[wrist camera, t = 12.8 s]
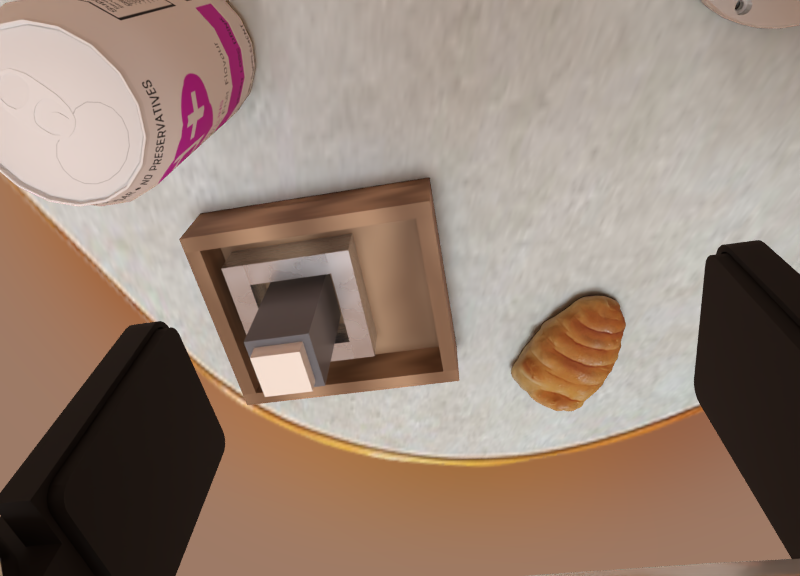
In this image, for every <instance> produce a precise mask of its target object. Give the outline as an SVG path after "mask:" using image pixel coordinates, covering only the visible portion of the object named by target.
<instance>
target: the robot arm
mask: <svg viewBox="0 0 800 576" xmlns="http://www.w3.org/2000/svg"><path fill="white" fill-rule="evenodd" d="M701 1H702V2H703V3H704V4H705V6H706V7H708V8H709V9H711V10H712V11H714V12H715V13H717V14H718V15H720V16H721V17H723V18H725V19H728V20H731V21H734V22H736V23H739V24H742V25H747V26H752V27H756V28H780V29H781V28H787V27H792V26H798V25H800V0H701ZM738 1H740V6H739V7H738V8H737V9H736V10H735V6H736V3H737V2H738ZM694 388H695V393H696V396H697V399H698V401H699V403H700V405H701V407H702V408H703V410H704V412H705V413H706V415H707V417H708V418H709V420H710V422H711V423H712V425H713V427H714V429H715V430H716V432H717V434H718V435H719V437H720V438H721V440H722V442H723V444H724V445H725V447H726V449H727V450H728V452H729V454H730V455H731V457H732V459H733V460H734V462H735V464H736V466H737V467H738V469H739V471H740V472H741V474H742V476H743V477H744V479H745V481H746V482H747V484H748V486H749V487H750V489H751V491H752V492H753V494H754V496H755V497H756V499H757V501H758V503H759V504H760V506H761V508H762V509H763V511H764V513H765V514H766V516H767V518H768V519H769V521H770V523H771V525H772V526H773V528H774V529H775V531H776V533H777V535H778V536H779V538H780V540H781V541H782V543H783V544H784V546H785V548H786V550H787V551H788V553H789V555H790V556H791V558H792V559H786V560H785V559H784V560H766V561H746V562H728V563H709V564H694V565H679V566H664V567H649V568H635V569H620V570H605V571H590V572H576V573H561V574H546V575H532V576H800V274H799V273H798V272H796V271H795V270H794V269H793V268H792V267H791V266H790V265H789V264H788V263H786V262H785V261H784V260H783V259H782V258H781V257H780V256H779V255H777V254H776V253H775V252H774V251H773V250H772V249H771V248H770V247H768V246H767V245H766V244H765V243H764V242H762V241H760V240H756V241H749V242H741V243H734V244H726V245H721V246H720V247H719V248H718V250H717V253H716V255H710V256H709V257H708V258H707V260H706V264H705V274H704V284H703V294H702V304H701V314H700V325H699V335H698V345H697V355H696V365H695V375H694ZM224 448H225V438H224V433H223V430H222V428H221V426H220V424H219V422H218V419H217V417H216V415H215V413H214V410H213V408H212V406H211V404H210V402H209V399H208V398H207V395H206V393H205V391H204V388H203V386H202V384H201V382H200V379H199V377H198V375H197V373H196V371H195V368H194V366H193V364H192V362H191V360H190V357H189V355H188V353H187V351H186V349H185V346H184V344H183V342H182V340H181V337H180V335H179V333H178V332H177V330H176V329H174V328H172V327H171V328H169V327H168V326H167V325H166V324H165V323H164V322H161V321H158V322H151V323H143V324H136V325H131V326H129V327H128V328H127V329H125V331H124V332H123V333H122V335H121V336H120V338H119V339H118V340H117V341H116V343H115V344H114V345H113V347H112V348H111V349H110V350H109V352H108V353H107V354H106V356H105V357H104V358H103V360H102V361H101V362H100V363H99V365H98V366H97V367H96V369H95V370H94V372H93V373H92V374H91V375H90V376H89V378H88V379H87V380H86V382H85V383H84V384H83V386H82V387H81V388H80V390H79V391H78V392H77V393H76V395H75V396H74V397H73V399H72V400H71V401H70V403H69V404H68V405H67V407H66V408H65V409H64V410H63V412H62V413H61V415H60V416H59V417H58V418H57V420H56V421H55V422H54V423H53V425H52V426H51V427H50V429H49V430H48V431H47V433H46V434H45V435H44V437H43V438H42V439H41V440H40V442H39V443H38V444H37V446H36V447H35V448H34V450H33V451H32V452H31V453H30V455H29V456H28V458H27V459H26V460H25V461H24V463H23V464H22V465H21V467H20V468H19V469H18V471H17V472H16V473H15V474H14V476H13V477H12V478H11V480H10V481H9V482H8V484H7V485H6V486H5V488H4V489H3V490H2V491H1V493H0V515H1V517H0V576H175V575H176V573H177V570H178V568H179V565H180V563H181V560H182V558H183V555H184V553H185V550H186V547H187V545H188V542H189V540H190V537H191V534H192V532H193V529H194V527H195V524H196V522H197V519H198V517H199V514H200V511H201V509H202V506H203V504H204V501H205V499H206V496H207V493H208V491H209V489H210V486H211V483H212V481H213V478H214V476H215V473H216V471H217V468H218V466H219V463H220V460H221V458H222V455H223V453H224Z"/></svg>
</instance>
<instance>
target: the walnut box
mask: <svg viewBox="0 0 800 576" xmlns="http://www.w3.org/2000/svg"><path fill="white" fill-rule="evenodd" d="M345 234H353V238H354V242H355V246H356V251H357V255H358V259H359V263H360V267H361V271H362V275H363V279H364V283H365V288H366V292H367V296H368V300H369V304H370V308H371V312H372V316H373V321H374V325H375V329H376V333H377V342H376V350H375V356H372V357H364V358H356V359H348V360H340V361H331V362H330V367H329V371H328V376H327V380H326V385H325V386H320V387H314V388H313V391H312V392H303V393H295V394H286V395H278V396H270V397H265V396H264V393H263V391H262V388H261V385H260V383H259V380H258V378H257V375H256V373H255V370H254V367H253V365H252V362H251V360H250V357H249V355H248V352H247V350H246V347H245V344H244V340H245V338H246V336H247V335H246V332H245V330H244V327H243V324H242V322H241V319H240V317H239V314H238V311H237V309H236V306H235V303H234V301H233V298H232V296H231V293H230V290H229V288H228V285H227V282H226V280H225V277H224V275H223V272H222V269H221V268H222V267H223V265H224V263H225V262H226V260H227V259H228V257H229V255H230V254H231V252H232V251H237V250H244V249H251V248H258V247H264V246H271V245H278V244H285V243H291V242H298V241H305V240H311V239H318V238H325V237H332V236H338V235H345ZM179 240H180V242H181V244H182V247H183V249H184V252H185V254H186V257H187V259H188V262H189V264H190V266H191V269H192V271H193V274H194V276H195V279H196V281H197V283H198V286H199V288H200V291H201V293H202V296H203V298H204V301H205V303H206V305H207V308H208V310H209V313H210V315H211V318H212V320H213V322H214V325H215V327H216V330H217V332H218V335H219V337H220V340H221V342H222V344H223V347H224V349H225V352H226V354H227V357H228V359H229V361H230V364H231V366H232V369H233V371H234V374H235V376H236V378H237V381H238V383H239V386H240V388H241V391H242V393H243V396H244V398H245V400H246V403H247V405H252V404H260V403H269V402H278V401H286V400H295V399H304V398H313V397H321V396H330V395H339V394H347V393H356V392H365V391H374V390H382V389H391V388H400V387H408V386H417V385H426V384H435V383H443V382H452V381H459V371H458V358H457V346H456V340H455V334H454V328H453V322H452V315H451V309H450V303H449V297H448V290H447V284H446V278H445V272H444V265H443V259H442V253H441V247H440V240H439V234H438V228H437V222H436V215H435V209H434V203H433V197H432V190H431V184H430V178H424V179H417V180H411V181H405V182H398V183H392V184H386V185H379V186H373V187H367V188H360V189H354V190H348V191H341V192H335V193H329V194H322V195H316V196H310V197H303V198H297V199H291V200H284V201H278V202H272V203H265V204H259V205H253V206H246V207H240V208H234V209H227V210H221V211H215V212H208V213H202V214H200V215H199V216H198V217H197V218H196V220H195V221H194V222H193V223H192V224H191V226H190V227H189V228H188V229H187V231H186V232H185V233H184V234H183V235H182V237H181V238H180V239H179ZM330 277H331V280H332V284H333V287H334V291H335V295H336V298H337V302H338V305H339V309H340V313H341V317H340V322H339V324H342V323H344V319H343V315H342V312H341V308H340V304H339V301H338V297H337V293H336V290H335V286H334V283H333V279H332V275H331V274H330ZM269 284H270V282H268V283H265V286H266V289H268V287H269Z"/></svg>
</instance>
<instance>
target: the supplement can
mask: <svg viewBox="0 0 800 576" xmlns="http://www.w3.org/2000/svg"><path fill="white" fill-rule="evenodd" d="M254 73H255V63H254V55H253V47H252V42H251V40H250V38H249V36H248V33H247V31H246V29H245V27H244V25H243V22H242V20H241V18H240V17H239V16H238V15H237V13H236V12H235V11H234V10H233V9H232V8H231V7H230V6H229V4H228V3H227V2H226V1H225V0H18V1H14V2H9V3H5V4H4V5H3V6H2V7H0V172H1V173H2V174H3V175H5V176H6V177H7V178H8V179H10V180H11V181H12V182H13V183H14V184H16V185H17V186H18V187H20V188H22V189H24V190H26V191H28V192H30V193H32V194H34V195H37V196H39V197H41V198H43V199H45V200H47V201H50V202H55V203H61V204H67V205H73V206H85V205H96V206H105V205H111V204H117V203H124V202H130V201H132V200H134V199H136V198H137V197H139V196H141V195H142V194H144V193H145V192H147V191H149V190H150V189H152V188H153V187H155V186H156V185H157V184H159V183H160V182H161V181H162V180H163V179H164V178H165V177H166V176H167V175H168V174H169V173H171V172H172V171H173V170H174V169H175V168H176V167H177V166H178V165H179V164H180V163H181V162H183V161H184V160H185V159H186V158H187V157H188V156H189V155H190V154H191V153H192V152H193V151H194V150H196V149H197V148H198V147H199V146H200V145H201V144H202V143H203V142H204V141H205V140H206V139H208V138H209V137H210V136H211V135H212V134H213V133H214V132H215V131H216V130H217V129H218V128H220V127H221V126H222V125H223V124H224V123H225V122H226V121H227V120H228V119H229V118H230V117H232V116H233V115H234V114H235V113H236V112H237V111H238V110H239V108H240V107H241V105H242V104H243V102H244V101H245V99H246V98H247V96H248V95H249V94H250V91H251V86H252V82H253V77H254Z"/></svg>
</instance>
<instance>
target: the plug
mask: <svg viewBox="0 0 800 576" xmlns="http://www.w3.org/2000/svg"><path fill="white" fill-rule="evenodd" d="M340 317H341V313H340V309H339V305H338V302H337V298H336V295H335V291H334V287H333V284H332V280H331V277H330V274H325V275H318V276H310V277H303V278H296V279H289V280H282V281H275V282H270V284H269V287H268V289H267V291H266V293H265V296H264V298H263V300H262V302H261V304H260V307H259V309H258V311H257V313H256V316H255V318H254V320H253V322H252V325H251V327H250V329H249V331H248V333H247V336H246V338H245V340H244V344H245V347H246V350H247V352H248V355H249V357H250V360H251V362H252V365H253V367H254V370H255V373H256V375H257V378H258V380H259V383H260V385H261V388H262V391H263V393H264V396H265V397H270V396H278V395H286V394H295V393H303V392H312V391H313V388H314V387H320V386H325V385H326V380H327V376H328V371H329V367H330V362H331V358H332V353H333V349H334V344H335V340H336V335H337V331H338V326H339V322H340Z"/></svg>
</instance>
